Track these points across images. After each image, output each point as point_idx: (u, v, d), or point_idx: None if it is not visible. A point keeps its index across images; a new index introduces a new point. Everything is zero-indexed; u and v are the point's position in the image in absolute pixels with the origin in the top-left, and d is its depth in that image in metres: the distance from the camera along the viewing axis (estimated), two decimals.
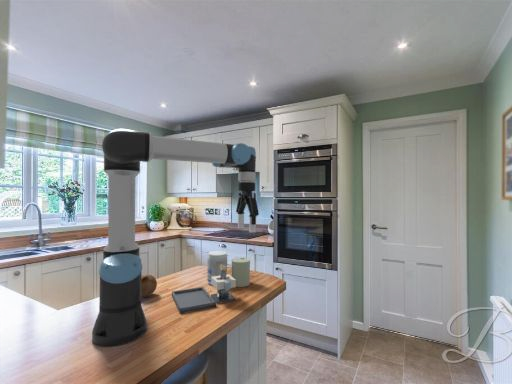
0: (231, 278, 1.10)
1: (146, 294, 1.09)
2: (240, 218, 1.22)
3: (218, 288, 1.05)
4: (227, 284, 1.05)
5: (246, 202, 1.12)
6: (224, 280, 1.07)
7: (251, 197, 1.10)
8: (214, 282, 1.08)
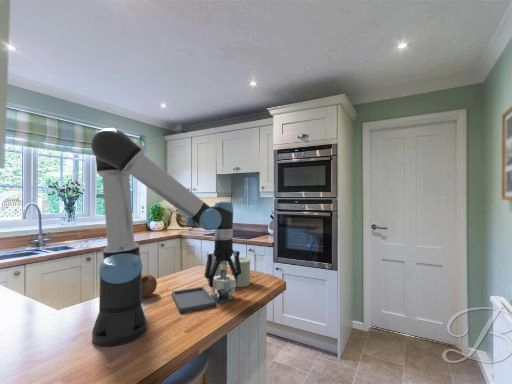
0: (231, 278, 1.10)
1: (146, 294, 1.09)
2: None
3: (218, 288, 1.05)
4: (227, 284, 1.05)
5: (215, 261, 1.10)
6: (224, 280, 1.07)
7: None
8: None
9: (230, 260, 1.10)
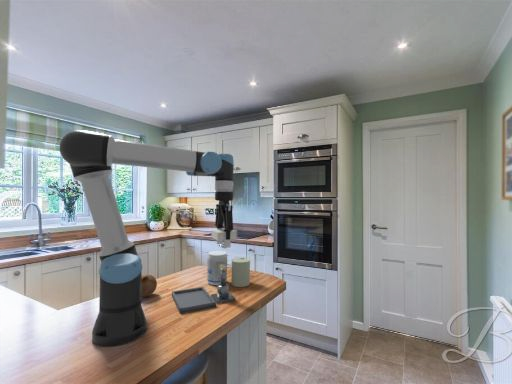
0: None
1: (146, 294, 1.09)
2: None
3: None
4: None
5: (222, 214, 1.07)
6: None
7: (227, 210, 1.04)
8: None
9: None
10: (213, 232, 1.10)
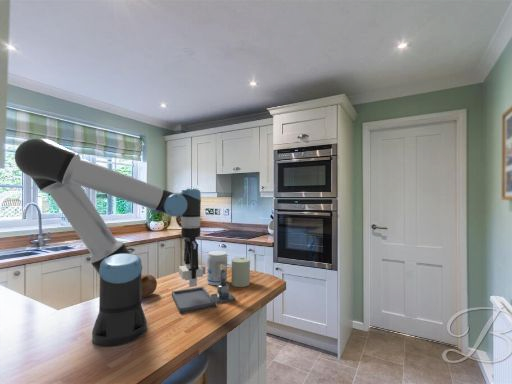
0: None
1: (146, 294, 1.09)
2: None
3: None
4: None
5: (188, 252, 1.04)
6: None
7: (192, 249, 1.01)
8: None
9: None
10: (180, 269, 1.07)
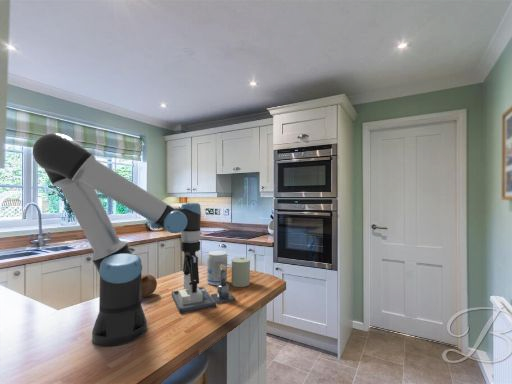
0: None
1: (146, 294, 1.09)
2: (186, 279, 1.12)
3: None
4: None
5: (188, 266, 1.03)
6: (197, 291, 1.08)
7: (192, 262, 1.01)
8: None
9: None
10: (179, 294, 1.06)
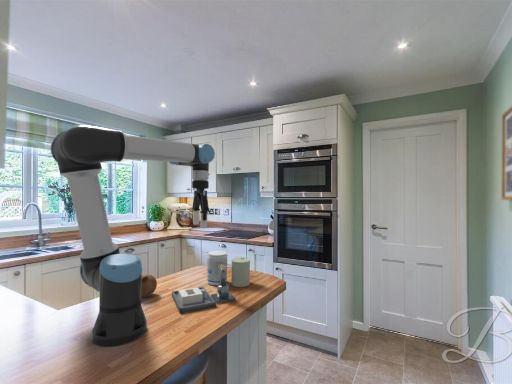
0: (193, 288, 1.11)
1: (146, 294, 1.09)
2: (195, 215, 1.28)
3: None
4: None
5: (198, 199, 1.18)
6: (197, 291, 1.08)
7: (202, 194, 1.16)
8: (194, 297, 1.04)
9: None
10: (179, 294, 1.06)
